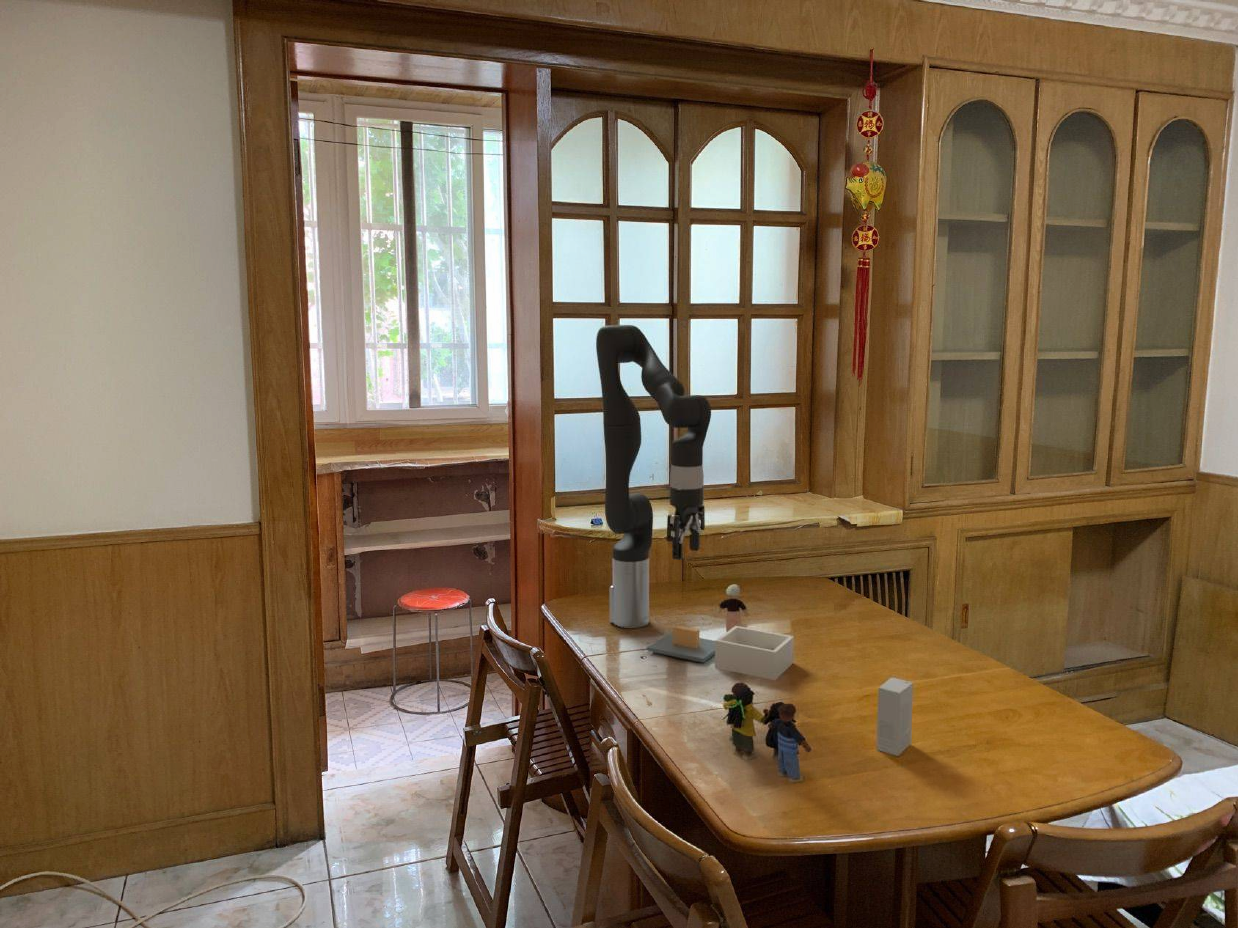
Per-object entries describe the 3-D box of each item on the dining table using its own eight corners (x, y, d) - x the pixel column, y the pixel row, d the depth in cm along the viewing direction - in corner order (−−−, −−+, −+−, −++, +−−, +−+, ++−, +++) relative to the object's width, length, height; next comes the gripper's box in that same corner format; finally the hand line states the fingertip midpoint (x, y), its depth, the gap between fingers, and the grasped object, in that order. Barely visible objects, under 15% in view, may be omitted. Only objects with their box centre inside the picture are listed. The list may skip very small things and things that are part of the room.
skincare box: (888, 737, 166) (891, 676, 164) (911, 744, 163) (914, 682, 161) (875, 749, 161) (877, 686, 159) (898, 757, 158) (901, 693, 156)
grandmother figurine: (747, 632, 222) (748, 582, 219) (748, 637, 218) (749, 587, 216) (716, 631, 222) (717, 582, 220) (716, 636, 219) (717, 586, 216)
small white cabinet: (714, 670, 198) (715, 640, 196) (735, 654, 207) (735, 625, 206) (774, 683, 190) (775, 652, 189) (793, 666, 200) (793, 636, 199)
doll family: (834, 773, 153) (837, 700, 151) (804, 793, 147) (806, 717, 144) (728, 730, 169) (729, 663, 167) (697, 746, 163) (697, 677, 161)
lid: (646, 654, 206) (646, 630, 205) (670, 639, 216) (670, 616, 215) (703, 666, 199) (703, 641, 198) (724, 650, 208) (725, 626, 207)
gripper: (686, 478, 209) (685, 545, 211) (656, 488, 197) (656, 559, 199) (715, 481, 205) (714, 549, 207) (687, 491, 193) (686, 564, 195)
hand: (686, 554), depth 203 cm, fingers open, 8 cm apart
